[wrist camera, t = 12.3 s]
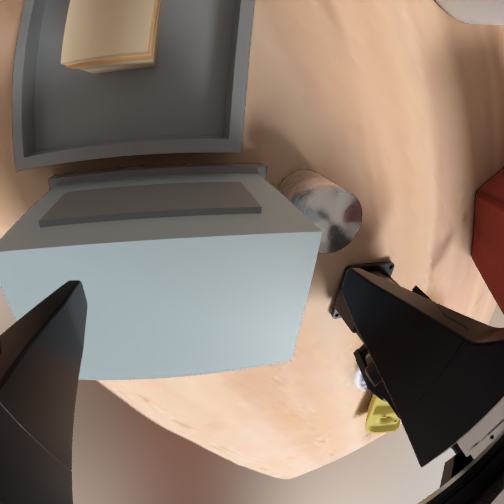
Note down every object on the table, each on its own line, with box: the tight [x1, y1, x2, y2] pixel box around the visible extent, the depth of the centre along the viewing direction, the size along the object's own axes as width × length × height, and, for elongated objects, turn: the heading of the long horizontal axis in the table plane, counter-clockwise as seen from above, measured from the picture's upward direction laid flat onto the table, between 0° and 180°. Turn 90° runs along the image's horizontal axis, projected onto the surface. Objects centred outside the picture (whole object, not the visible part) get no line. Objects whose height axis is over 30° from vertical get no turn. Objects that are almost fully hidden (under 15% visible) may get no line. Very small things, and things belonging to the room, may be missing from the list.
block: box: [61, 0, 164, 74], centre depth 9 cm, size 4×6×6 cm
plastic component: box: [365, 395, 400, 433], centre depth 48 cm, size 20×7×10 cm
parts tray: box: [12, 0, 255, 172], centre depth 11 cm, size 15×17×2 cm
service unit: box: [0, 163, 322, 380], centre depth 16 cm, size 15×9×10 cm, turn 85°
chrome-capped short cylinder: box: [278, 170, 362, 253], centre depth 20 cm, size 4×4×5 cm
